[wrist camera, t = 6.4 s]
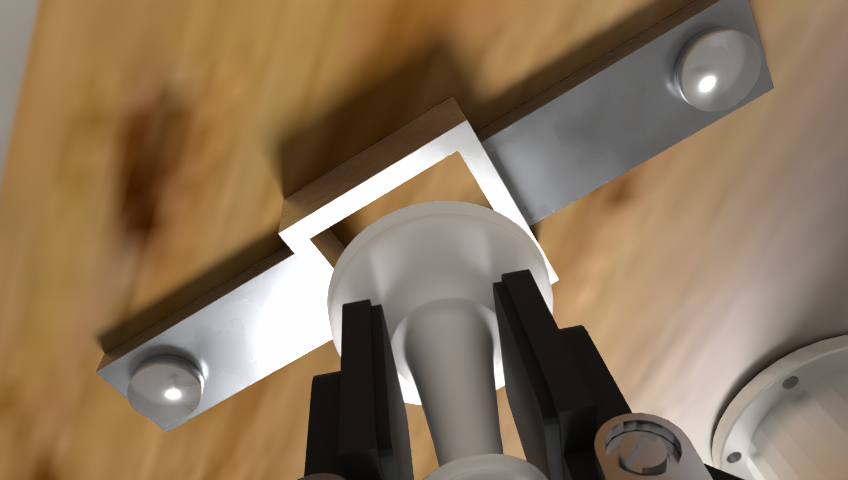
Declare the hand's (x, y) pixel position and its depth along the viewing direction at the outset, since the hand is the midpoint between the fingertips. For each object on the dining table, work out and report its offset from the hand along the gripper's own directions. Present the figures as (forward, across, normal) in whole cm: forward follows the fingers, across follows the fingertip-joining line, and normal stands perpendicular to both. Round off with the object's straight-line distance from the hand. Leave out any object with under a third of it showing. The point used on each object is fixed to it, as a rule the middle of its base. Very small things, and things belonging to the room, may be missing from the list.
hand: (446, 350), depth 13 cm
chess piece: (+2, 0, 0) cm, 2 cm away
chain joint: (+14, 0, +4) cm, 15 cm away
